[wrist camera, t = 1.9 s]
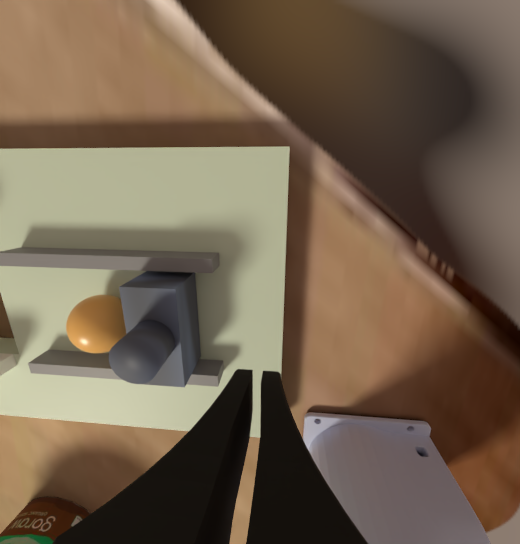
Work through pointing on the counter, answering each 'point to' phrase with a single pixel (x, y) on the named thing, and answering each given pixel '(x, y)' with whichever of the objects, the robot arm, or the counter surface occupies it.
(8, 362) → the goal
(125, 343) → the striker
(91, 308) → the ball
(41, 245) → the board
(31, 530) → the food container
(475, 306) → the counter surface
